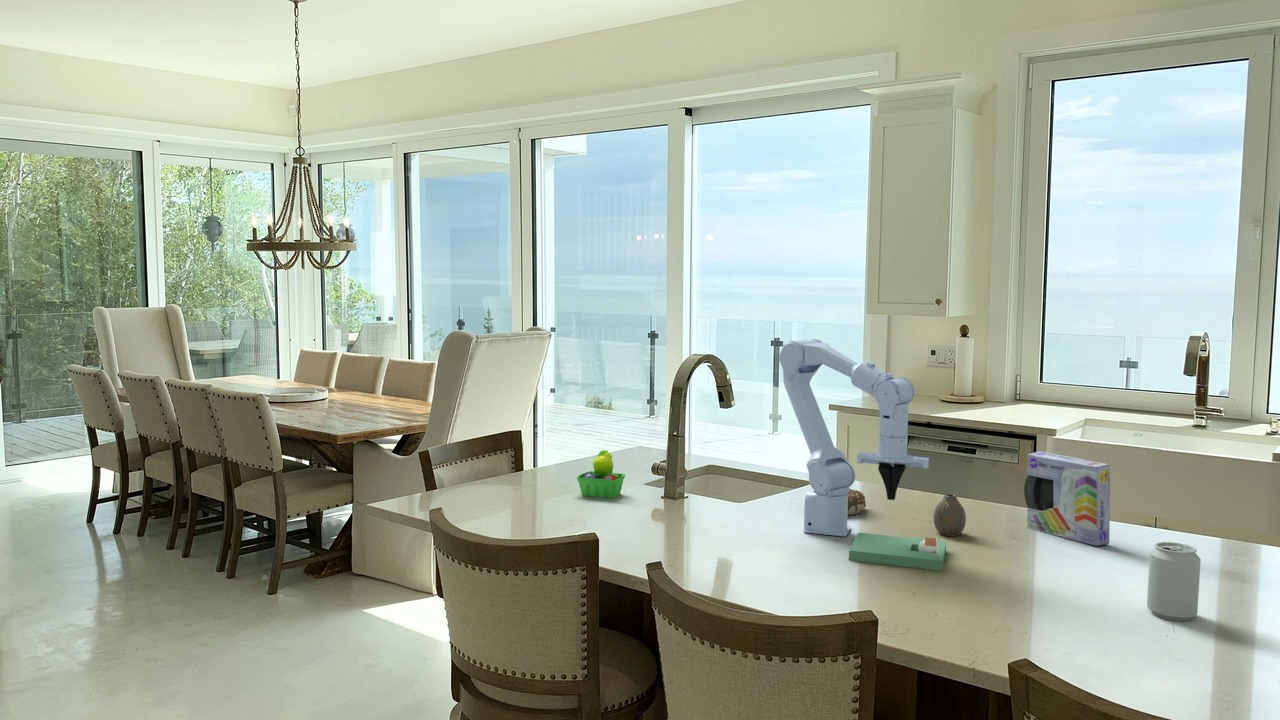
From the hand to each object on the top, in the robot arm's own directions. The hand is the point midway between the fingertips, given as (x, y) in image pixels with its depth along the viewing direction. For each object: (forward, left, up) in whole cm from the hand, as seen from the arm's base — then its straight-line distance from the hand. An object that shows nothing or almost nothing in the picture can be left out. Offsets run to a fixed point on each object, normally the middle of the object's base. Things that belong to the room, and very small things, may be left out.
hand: (891, 498), depth 196 cm
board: (+2, -6, -10) cm, 12 cm away
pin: (+9, -12, -10) cm, 18 cm away
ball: (+9, -6, -10) cm, 14 cm away
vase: (+11, +15, -11) cm, 22 cm away
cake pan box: (+35, +23, -11) cm, 44 cm away
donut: (-15, +27, -11) cm, 33 cm away
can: (+49, -23, -11) cm, 55 cm away
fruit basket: (-76, +20, -11) cm, 79 cm away
